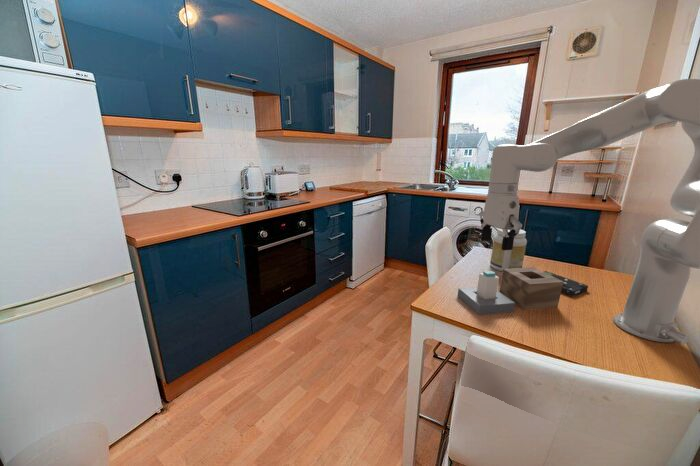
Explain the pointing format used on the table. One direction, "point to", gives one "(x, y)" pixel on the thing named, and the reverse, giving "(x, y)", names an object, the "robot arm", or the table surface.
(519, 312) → the table surface
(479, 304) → the lower socket plate
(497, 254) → the supplement tub
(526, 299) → the upper socket tower
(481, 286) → the plug peg
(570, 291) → the disk drive
